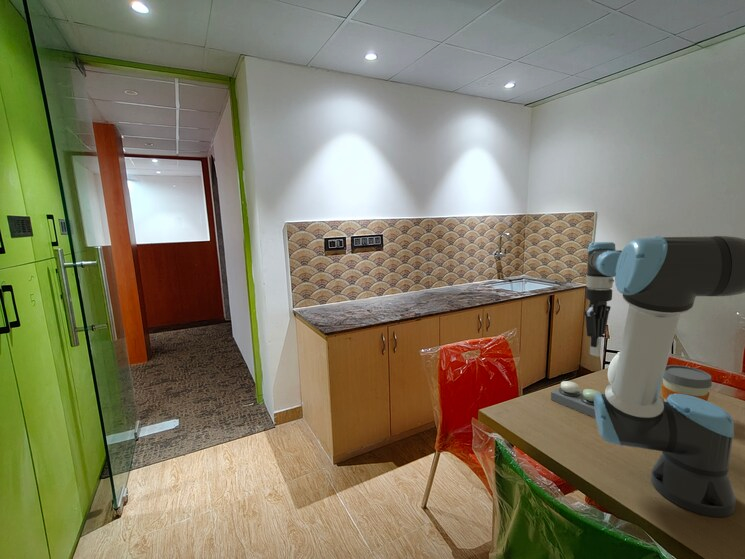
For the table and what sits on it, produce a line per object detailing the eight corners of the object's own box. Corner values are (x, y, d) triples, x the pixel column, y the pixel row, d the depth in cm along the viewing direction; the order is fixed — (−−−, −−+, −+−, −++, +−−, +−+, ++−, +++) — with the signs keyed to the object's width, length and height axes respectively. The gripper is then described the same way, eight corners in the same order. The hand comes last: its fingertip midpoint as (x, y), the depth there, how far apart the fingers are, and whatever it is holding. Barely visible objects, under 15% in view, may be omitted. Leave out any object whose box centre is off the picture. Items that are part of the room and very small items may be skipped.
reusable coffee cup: (717, 425, 111) (723, 381, 109) (672, 422, 114) (676, 379, 112) (690, 405, 124) (695, 365, 121) (650, 403, 126) (654, 363, 124)
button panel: (623, 429, 111) (623, 419, 111) (550, 399, 131) (551, 390, 131) (637, 419, 116) (637, 409, 116) (565, 392, 136) (565, 383, 136)
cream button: (572, 394, 126) (573, 389, 126) (557, 388, 131) (557, 383, 130) (581, 390, 129) (581, 385, 129) (565, 384, 134) (566, 379, 133)
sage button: (596, 403, 119) (596, 398, 119) (579, 397, 124) (580, 391, 124) (604, 398, 122) (605, 393, 122) (587, 392, 127) (588, 387, 127)
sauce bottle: (602, 388, 138) (605, 344, 136) (614, 383, 142) (617, 341, 139) (623, 396, 131) (626, 351, 129) (635, 391, 135) (639, 347, 132)
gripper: (601, 292, 111) (596, 362, 114) (620, 287, 117) (616, 354, 121) (577, 289, 117) (573, 356, 120) (596, 284, 124) (593, 348, 127)
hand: (594, 354), depth 121 cm, fingers closed
